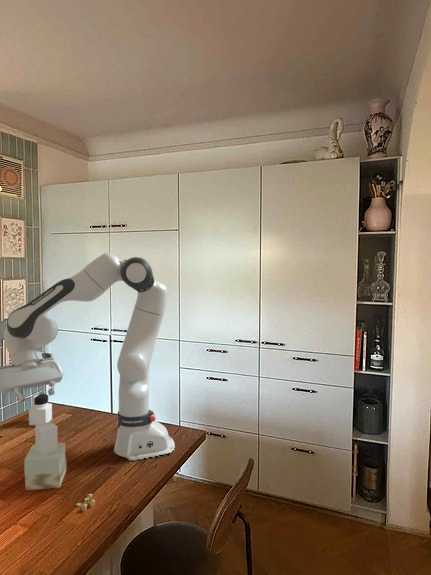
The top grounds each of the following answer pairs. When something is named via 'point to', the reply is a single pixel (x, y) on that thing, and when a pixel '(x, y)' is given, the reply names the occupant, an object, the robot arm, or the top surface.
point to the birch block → (45, 479)
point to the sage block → (44, 461)
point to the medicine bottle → (40, 410)
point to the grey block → (46, 438)
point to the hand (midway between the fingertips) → (37, 397)
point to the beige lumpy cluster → (89, 498)
